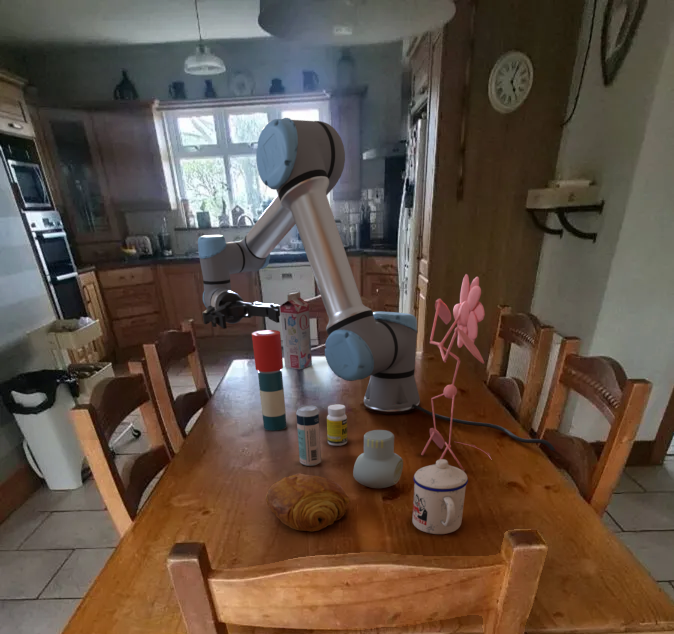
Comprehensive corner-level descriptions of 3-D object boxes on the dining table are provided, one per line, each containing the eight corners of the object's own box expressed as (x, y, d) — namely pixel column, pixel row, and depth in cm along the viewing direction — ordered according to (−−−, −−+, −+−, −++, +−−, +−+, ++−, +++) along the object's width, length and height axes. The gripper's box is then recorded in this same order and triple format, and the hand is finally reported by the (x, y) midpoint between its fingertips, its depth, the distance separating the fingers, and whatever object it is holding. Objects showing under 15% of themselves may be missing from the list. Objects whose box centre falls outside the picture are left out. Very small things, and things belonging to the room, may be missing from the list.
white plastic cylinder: (324, 459, 122) (322, 405, 114) (316, 468, 118) (313, 412, 111) (304, 457, 123) (300, 403, 116) (296, 465, 119) (292, 410, 112)
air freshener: (390, 496, 106) (392, 447, 100) (350, 491, 109) (349, 442, 102) (404, 474, 114) (407, 427, 108) (367, 469, 117) (367, 423, 111)
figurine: (442, 489, 108) (461, 287, 87) (407, 442, 128) (416, 269, 107) (515, 481, 110) (551, 282, 89) (470, 436, 130) (490, 265, 109)
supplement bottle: (345, 446, 127) (344, 410, 122) (325, 445, 128) (324, 409, 123) (349, 439, 131) (348, 403, 126) (330, 438, 132) (328, 403, 127)
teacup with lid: (405, 513, 101) (408, 452, 94) (453, 509, 101) (460, 448, 94) (422, 547, 91) (427, 482, 84) (475, 541, 92) (484, 477, 85)
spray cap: (288, 366, 132) (285, 330, 127) (272, 373, 127) (268, 336, 123) (266, 363, 135) (263, 328, 130) (250, 370, 130) (245, 333, 126)
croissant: (286, 551, 95) (283, 513, 90) (258, 503, 105) (254, 466, 100) (361, 530, 99) (362, 493, 94) (327, 486, 109) (327, 450, 104)
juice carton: (311, 365, 188) (308, 292, 175) (300, 369, 183) (295, 295, 170) (296, 362, 191) (291, 291, 178) (284, 367, 186) (279, 294, 173)
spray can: (291, 424, 140) (286, 366, 132) (277, 432, 136) (271, 372, 128) (272, 421, 143) (267, 364, 134) (259, 428, 139) (252, 369, 130)
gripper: (272, 316, 155) (299, 330, 140) (185, 326, 147) (203, 341, 132) (270, 286, 151) (297, 297, 135) (179, 294, 143) (198, 307, 127)
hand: (251, 319), depth 134 cm, fingers open, 13 cm apart
